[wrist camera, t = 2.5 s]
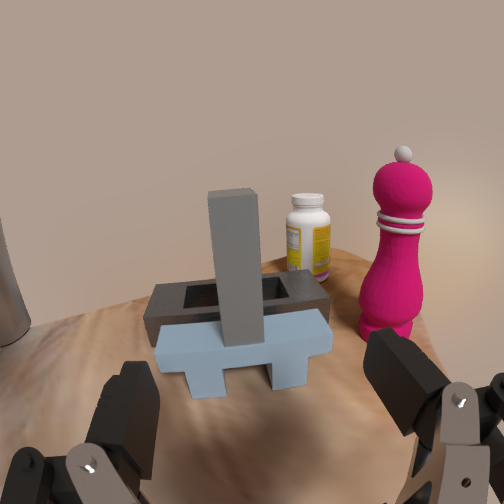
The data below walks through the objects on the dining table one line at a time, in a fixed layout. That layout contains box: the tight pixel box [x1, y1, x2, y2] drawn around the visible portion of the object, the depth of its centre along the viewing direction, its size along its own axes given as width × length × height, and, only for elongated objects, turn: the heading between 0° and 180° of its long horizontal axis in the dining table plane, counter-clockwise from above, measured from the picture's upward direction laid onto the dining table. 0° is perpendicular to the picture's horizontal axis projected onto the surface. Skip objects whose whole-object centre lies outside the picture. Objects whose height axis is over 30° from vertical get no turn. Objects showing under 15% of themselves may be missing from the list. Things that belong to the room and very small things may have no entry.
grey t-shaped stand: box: [154, 188, 334, 399], centre depth 21 cm, size 14×4×16 cm, turn 97°
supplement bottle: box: [286, 193, 330, 282], centre depth 41 cm, size 7×7×13 cm
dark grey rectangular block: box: [143, 269, 331, 347], centre depth 32 cm, size 20×8×4 cm, turn 97°
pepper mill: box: [359, 146, 432, 342], centre depth 25 cm, size 7×7×20 cm
